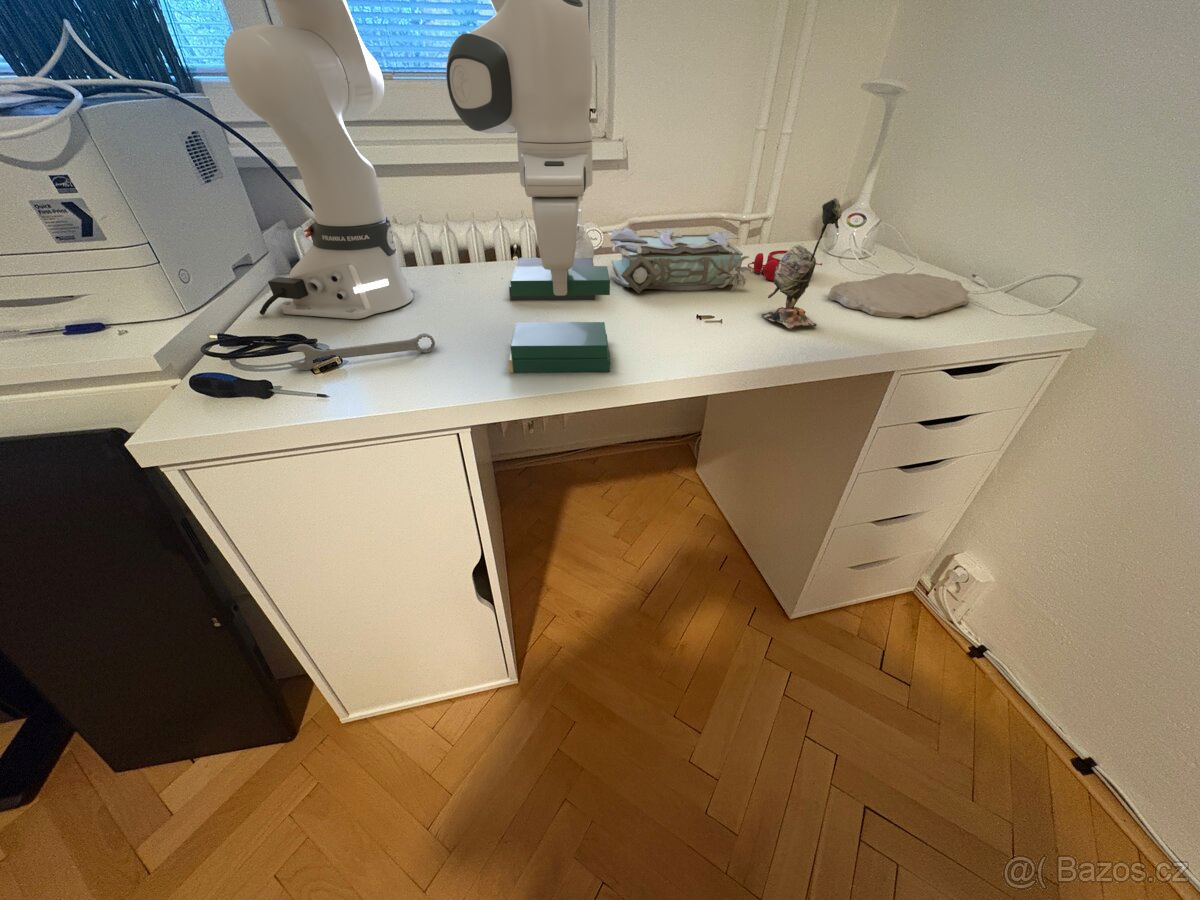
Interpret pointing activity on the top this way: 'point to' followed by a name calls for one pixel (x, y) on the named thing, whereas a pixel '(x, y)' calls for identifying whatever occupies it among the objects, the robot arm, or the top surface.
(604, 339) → the green rectangular block
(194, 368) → the top surface
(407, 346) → the combination wrench
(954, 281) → the stone tablet
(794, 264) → the plant with pod
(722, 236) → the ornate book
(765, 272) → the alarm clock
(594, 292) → the green book
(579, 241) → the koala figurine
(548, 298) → the grey books
